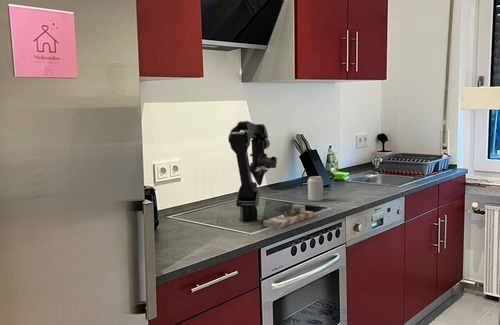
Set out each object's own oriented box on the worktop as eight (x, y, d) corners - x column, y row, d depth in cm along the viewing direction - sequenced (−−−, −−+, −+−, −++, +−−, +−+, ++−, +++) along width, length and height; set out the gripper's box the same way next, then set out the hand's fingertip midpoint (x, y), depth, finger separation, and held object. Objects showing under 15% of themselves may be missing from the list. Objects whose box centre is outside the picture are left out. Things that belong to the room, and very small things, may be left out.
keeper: (300, 214, 207) (300, 206, 207) (291, 213, 210) (291, 205, 210) (305, 213, 209) (304, 205, 209) (296, 211, 212) (295, 204, 212)
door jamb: (278, 228, 194) (278, 223, 193) (263, 225, 199) (263, 220, 199) (313, 216, 211) (313, 211, 211) (298, 214, 217) (298, 209, 216)
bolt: (288, 217, 202) (287, 206, 201) (282, 216, 204) (281, 205, 203) (302, 212, 209) (302, 201, 209) (296, 211, 211) (296, 201, 211)
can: (325, 199, 247) (325, 175, 245) (319, 202, 240) (319, 178, 239) (311, 198, 251) (311, 175, 249) (305, 201, 244) (305, 177, 243)
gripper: (257, 154, 212) (259, 189, 214) (284, 150, 226) (285, 183, 227) (239, 153, 219) (240, 187, 221) (266, 149, 233) (267, 181, 235)
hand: (259, 185), depth 226 cm, fingers closed
